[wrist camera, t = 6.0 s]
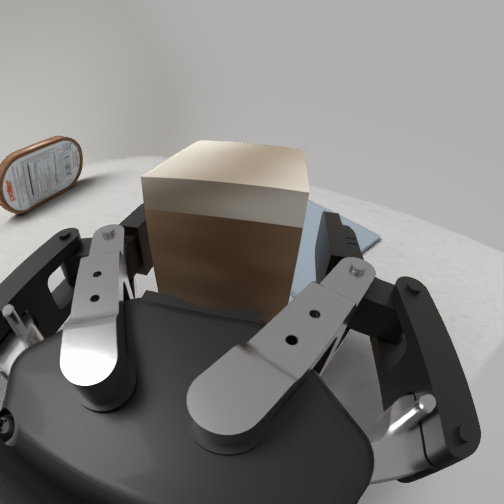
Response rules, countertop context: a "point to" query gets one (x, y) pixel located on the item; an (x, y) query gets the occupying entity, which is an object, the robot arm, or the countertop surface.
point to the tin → (39, 173)
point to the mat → (308, 240)
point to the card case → (227, 224)
